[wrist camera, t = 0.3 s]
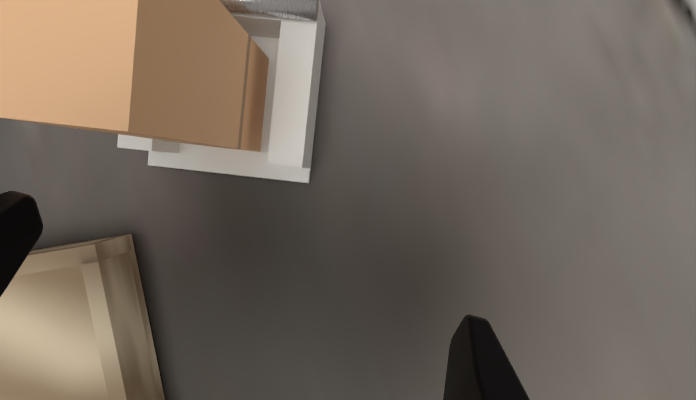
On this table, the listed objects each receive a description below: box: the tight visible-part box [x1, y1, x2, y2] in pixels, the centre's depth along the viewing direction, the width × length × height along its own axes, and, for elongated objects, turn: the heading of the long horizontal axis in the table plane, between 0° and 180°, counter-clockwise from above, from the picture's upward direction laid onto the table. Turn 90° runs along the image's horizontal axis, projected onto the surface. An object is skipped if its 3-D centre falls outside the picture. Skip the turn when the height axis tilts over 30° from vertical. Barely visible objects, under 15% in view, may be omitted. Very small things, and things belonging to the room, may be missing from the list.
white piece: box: [117, 0, 326, 183], centre depth 21 cm, size 8×8×4 cm
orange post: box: [0, 0, 269, 152], centre depth 16 cm, size 4×3×13 cm, turn 174°
